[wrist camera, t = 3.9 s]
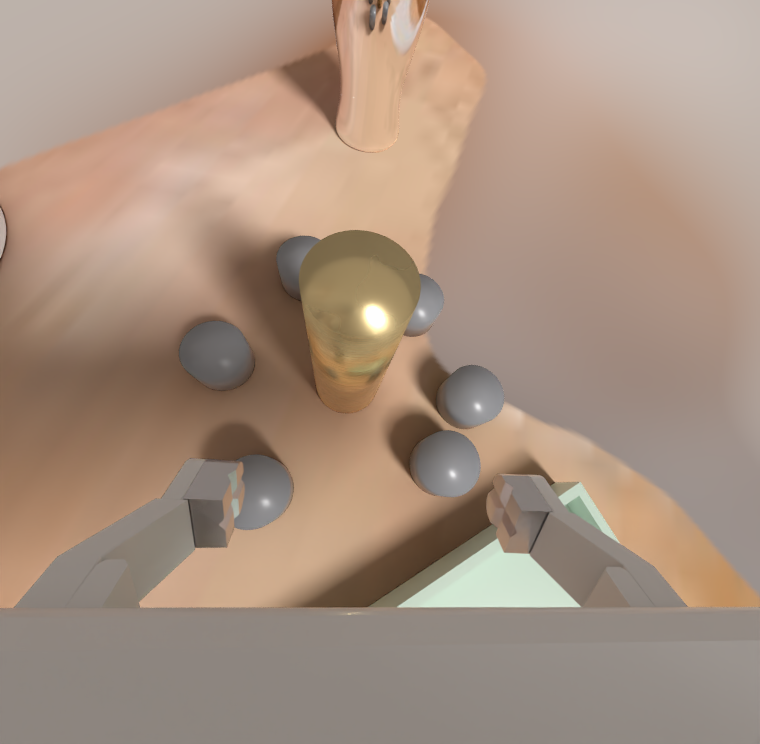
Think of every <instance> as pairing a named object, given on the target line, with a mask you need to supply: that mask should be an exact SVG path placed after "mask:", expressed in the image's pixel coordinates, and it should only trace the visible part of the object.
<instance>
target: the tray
mask: <svg viewBox="0 0 760 744" xmlns="http://www.w3.org/2000/svg"><path fill="white" fill-rule="evenodd" d="M551 488H552V489H553V491H554V492H555V493H556V495H557V496H558V498H559V499H560V500H561V502H562V503H563V505H564V506H565V507H566V509H567V510H568V512H569V513H574V514H576V515H577V516H579V517H580V518H582V519H583V520H585V521H586V522H588V523H589V524H591V525H592V526H594V527H595V528H597V529H598V530H600V531H601V532H603V533H604V534H606V535H607V536H609V537H610V538H612V539H614V540H615V541H617V542H618V543H619V541H618V540H617V538H616V537H615V535H614V533H613V532H612V530H611V529H610V527H609V526H608V524H607V523H606V521H605V520H604V518H603V516H602V515H601V513H600V512H599V510H598V509H597V507H596V506H595V504H594V502H593V501H592V499H591V498H590V496H589V495H588V493H587V492H586V490H585V488H584V487H583V485H582V484H581V482H555V483H554V484H552V485H551ZM497 529H498V528H497V527H495V526H494V525H493V524H492V525H491V526H489V527H488V528H486V529H484V530H483V531H481V532H480V533H478V534H477V535H475V536H474V537H472V538H471V539H469V540H468V541H466V542H465V543H463V544H462V545H460V546H459V547H457V548H456V549H454V550H453V551H451V552H450V553H448V554H447V555H445V556H444V557H442V558H441V559H439V560H438V561H436V562H435V563H433V564H432V565H430V566H429V567H427V568H426V569H424V570H423V571H421V572H420V573H418V574H417V575H415V576H414V577H412V578H411V579H409V580H408V581H406V582H405V583H403V584H402V585H400V586H399V587H397V588H396V589H394V590H393V591H391V592H390V593H388V594H387V595H385V596H384V597H382V598H381V599H379V600H378V601H376V602H375V603H373V604H372V605H370V606H368V607H581V606H580V605H579V604H578V603H577V602H576V601H575V600H574V599H573V598H572V597H571V596H570V595H569V594H568V593H567V592H566V591H565V590H564V589H563V588H562V587H561V586H560V585H559V584H558V583H557V582H556V581H555V580H554V579H553V578H552V577H551V576H550V575H549V574H548V573H547V572H546V571H545V570H544V569H543V568H542V567H541V566H540V565H539V564H538V563H537V562H536V561H535V560H534V559H533V558H532V557H531V556H530V554H520V553H504V552H503V549H502V547H501V545H500V543H499V540H498V538H497V536H496V532H497Z"/></svg>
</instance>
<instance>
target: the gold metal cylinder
mask: <svg viewBox="0 0 760 744" xmlns="http://www.w3.org/2000/svg"><path fill="white" fill-rule="evenodd" d="M299 288H300V294H301V300H302V306H303V312H304V318H305V324H306V330H307V336H308V341H309V347H310V353H311V359H312V365H313V371H314V377H315V383H316V389H317V393H318V395H319V397H320V399H321V400H322V402H323V403H324V404H325V405H326V406H327V407H329V408H330V409H332V410H334V411H336V412H340V413H354V412H357V411H360V410H362V409H364V408H365V407H366V406H368V405H369V404H370V403H371V401H372V400H373V398H374V397H375V395H376V392H377V390H378V388H379V386H380V384H381V382H382V379H383V377H384V375H385V373H386V371H387V369H388V367H389V364H390V362H391V360H392V358H393V356H394V354H395V351H396V349H397V347H398V345H399V343H400V341H401V339H402V336H403V334H404V332H405V330H406V328H407V326H408V323H409V321H410V319H411V317H412V315H413V313H414V311H415V308H416V306H417V304H418V301H419V298H420V292H421V281H420V276H419V272H418V269H417V267H416V265H415V263H414V261H413V260H412V258H411V257H410V255H409V254H408V253H407V252H406V251H405V250H404V249H403V248H402V247H401V246H400V245H398V244H397V243H396V242H394V241H393V240H391V239H389V238H387V237H385V236H382V235H380V234H377V233H373V232H369V231H361V230H349V231H343V232H338V233H335V234H332V235H330V236H327V237H326V238H324V239H322V240H320V241H319V242H318V243H316V244H315V245H314V246H313V247H312V248H311V249H310V250H309V252H308V253H307V254H306V256H305V258H304V260H303V262H302V264H301V267H300V272H299Z"/></svg>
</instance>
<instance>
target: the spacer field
mask: <svg viewBox="0 0 760 744" xmlns="http://www.w3.org/2000/svg"><path fill="white" fill-rule="evenodd" d="M319 241H320V240H319V239H317V238H315V237H311V236H297V237H294V238H291V239H289V240H287V241H286V242H284V243H283V244H282V245H281V247H280V248H279V250H278V252H277V258H276V260H277V265H278V269H279V273H280V277H281V281H282V285H283V287H284V289H285V291H286V292H287V293H288V294H289V295H290V296H292V297H293V298H295V299H298V300H301V294H300V288H299V272H300V267H301V264H302V262H303V260H304V258H305V256H306V254H307V253H308V252H309V250H310V249H311V248H312V247H313V246H314V245H315V244H316V243H318V242H319ZM419 276H420V281H421V292H420V298H419V301H418V304H417V306H416V308H415V311H414V313H413V315H412V317H411V319H410V321H409V323H408V326H407V328H406V330H405V332H404V334H403V335H405V336H410V337H414V336H420V335H422V334H424V333H426V332H427V331H428V330H429V329H430V328H431V327H432V325H433V323H434V322H435V320H436V318H437V317H438V315H439V314H440V312H441V310H442V308H443V304H444V296H443V292H442V290H441V288H440V287H439V285H438V284H437V283H436V282H435V281H434V280H433V279H431V278H430V277H428V276H426V275H423V274H419ZM301 301H302V300H301ZM179 358H180V362H181V364H182V366H183V367H184V369H185V370H186V371H187V372H188V373H189V374H191V375H192V376H193V377H195V378H196V379H197V380H198V381H200V382H201V383H202V384H203V385H205V386H206V387H208V388H210V389H214V390H219V391H225V390H231V389H234V388H236V387H238V386H240V385H242V384H243V383H244V382H246V381H247V379H248V378H249V377H250V376H251V374H252V372H253V370H254V366H255V357H254V353H253V351H252V349H251V347H250V346H249V344H248V342H247V341H246V339H245V337H244V336H243V334H242V333H241V331H240V330H239V329H238V328H236V327H235V326H233V325H232V324H229V323H227V322H223V321H209V322H205V323H202V324H199V325H197V326H196V327H194V328H193V329H191V330H190V331H189V332H188V333H187V334H186V335H185V337H184V338H183V340H182V342H181V344H180V348H179ZM436 404H437V408H438V411H439V413H440V415H441V416H442V418H443V419H444V420H445V421H446V422H447V423H449V424H450V425H452V426H454V427H456V428H460V429H470V428H474V427H476V426H478V425H481V424H483V423H486V422H488V421H490V420H492V419H494V418H495V417H496V416H497V415H498V414H499V413H500V411H501V409H502V407H503V404H504V392H503V388H502V385H501V383H500V382H499V380H498V379H497V377H496V376H495V375H494V374H492V373H491V372H490V371H489V370H487V369H485V368H483V367H480V366H476V365H468V366H464V367H461V368H459V369H457V370H456V371H455V372H454V373H453V374H452V375H451V376H450V377H448V378H447V379H446V380H445V381H444V382H443V383H442V384H441V386H440V387H439V389H438V391H437V395H436ZM236 461H241V462H242V463H243V469H244V472H243V475H242V477H241V480H242V481H243V482H244V486H245V491H244V500H243V504H242V508H241V511H240V514H239V515H238V516H237V517H236V518H234V527H235V528H238V529H242V530H253V529H258V528H261V527H263V526H265V525H267V524H269V523H271V522H272V521H274V520H276V519H277V518H279V517H280V516H281V515H282V514H283V513H284V512H285V511H286V509H287V508H288V506H289V505H290V502H291V500H292V497H293V492H294V485H293V479H292V476H291V474H290V472H289V471H288V469H287V468H286V467H285V466H284V465H283V464H282V463H280V462H279V461H277V460H274V459H272V458H270V457H267V456H264V455H248V456H244V457H242V458H239V459H237V460H236ZM409 466H410V472H411V476H412V478H413V480H414V482H415V483H416V484H417V486H418V487H419V488H420V489H422V490H423V491H424V492H426V493H428V494H431V495H434V496H444V497H457V496H461V495H463V494H465V493H467V492H468V491H470V490H471V489H472V488H473V487H474V485H475V484H476V482H477V480H478V478H479V474H480V458H479V455H478V452H477V450H476V448H475V446H474V445H473V443H472V442H471V441H470V440H469V439H468V438H467V437H465V436H464V435H462V434H460V433H458V432H455V431H449V430H445V431H439V432H436V433H434V434H432V435H430V436H428V437H426V438H424V439H423V440H421V441H420V442H419V443H418V444H417V445H416V446H415V447H414V449H413V451H412V453H411V456H410V462H409Z"/></svg>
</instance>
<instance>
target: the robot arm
mask: <svg viewBox="0 0 760 744" xmlns="http://www.w3.org/2000/svg"><path fill="white" fill-rule="evenodd" d="M5 240H6V224H5V219H4V215H3V213H2V210H1V208H0V258H1V255H2V253H3V249H4V245H5ZM243 472H244V469H243V463H242V462H241V461H229V460H215V459H196V458H190V459H188V460H187V461H186V462H185V463H184V465H183V466H182V468H181V469H180V471H179V472H178V474H177V475H176V477H175V478H174V480H173V481H172V483H171V484H170V486H169V487H168V489H167V490H166V492H165V493H164V495H163V496H162V498H161V499H154V500H152V501H151V502H149V503H147V504H146V505H144V506H142V507H140V508H139V509H137V510H135V511H134V512H132V513H130V514H129V515H127V516H125V517H124V518H122V519H120V520H118V521H117V522H115V523H113V524H112V525H110V526H108V527H107V528H105V529H103V530H102V531H100V532H98V533H97V534H95V535H93V536H91V537H90V538H88V539H86V540H85V541H83V542H81V543H80V544H78V545H76V546H75V547H73V548H71V549H69V550H68V551H66V552H64V553H63V554H61V555H59V556H58V557H57V558H56V559H55V560H54V561H53V562H52V563H51V565H50V566H49V567H48V568H47V569H46V570H45V572H44V573H43V574H42V575H41V576H40V578H39V579H38V580H37V581H36V582H35V583H34V585H33V586H32V587H31V588H30V589H29V590H28V592H27V593H26V594H25V595H24V596H23V598H22V599H21V600H20V601H19V602H18V603H17V605H16V606H15V607H14V608H0V744H760V607H688V606H687V605H686V604H685V603H684V602H683V601H682V599H681V598H680V597H679V596H678V595H677V593H676V592H675V591H674V590H673V589H672V587H671V586H670V585H669V584H668V583H667V581H666V580H665V579H664V578H663V577H662V575H661V574H660V573H659V572H658V571H657V569H656V568H655V567H654V566H653V565H651V564H650V563H648V562H647V561H645V560H644V559H642V558H641V557H639V556H638V555H636V554H635V553H633V552H632V551H630V550H629V549H627V548H626V547H624V546H623V545H621V544H620V543H618V542H617V541H615V540H614V539H612V538H610V537H609V536H607V535H606V534H604V533H603V532H601V531H600V530H598V529H597V528H595V527H594V526H592V525H591V524H589V523H588V522H586V521H585V520H583V519H582V518H580V517H579V516H577V515H576V514H574V513H569V512H568V510H567V509H566V507H565V506H564V505H563V503H562V502H561V500H560V499H559V498H558V496H557V495H556V493H555V492H554V491H553V489H552V488H551V486H550V485H549V484H548V482H547V481H546V480H545V478H544V477H542V476H541V475H516V474H496V476H495V477H494V479H493V482H492V484H493V486H494V489H493V490H492V491H490V492H489V493H488V496H487V500H486V510H487V515H488V518H489V520H490V522H491V523H492V524H493V525H494V526H495V527H497V528H498V529H497V532H496V536H497V538H498V540H499V543H500V545H501V547H502V549H503V552H504V553H520V554H530V556H531V557H532V558H533V559H534V560H535V561H536V562H537V563H538V564H539V565H540V566H541V567H542V568H543V569H544V570H545V571H546V572H547V573H548V574H549V575H550V576H551V577H552V578H553V579H554V580H555V581H556V582H557V583H558V584H559V585H560V586H561V587H562V588H563V589H564V590H565V591H566V592H567V593H568V594H569V595H570V596H571V597H572V598H573V599H574V600H575V601H576V602H577V603H578V604H579V605H580V606H581V607H365V608H140V605H139V601H140V600H142V599H143V598H144V597H145V596H146V595H147V594H148V593H149V592H150V591H151V590H152V589H153V588H154V587H156V586H157V585H158V584H159V583H160V582H161V581H162V580H163V579H164V578H165V577H166V576H167V575H168V574H169V573H171V572H172V571H173V570H174V569H175V568H176V567H177V566H178V565H179V564H180V563H181V562H182V561H183V560H185V559H186V558H187V557H188V556H189V555H190V554H191V553H192V552H193V551H194V550H195V548H215V547H227V546H228V543H229V541H230V538H231V535H232V533H233V530H234V518H236V517H237V516H238V515H239V514H240V511H241V508H242V504H243V500H244V491H245V486H244V482H243V481H242V480H241V477H242V475H243Z"/></svg>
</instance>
